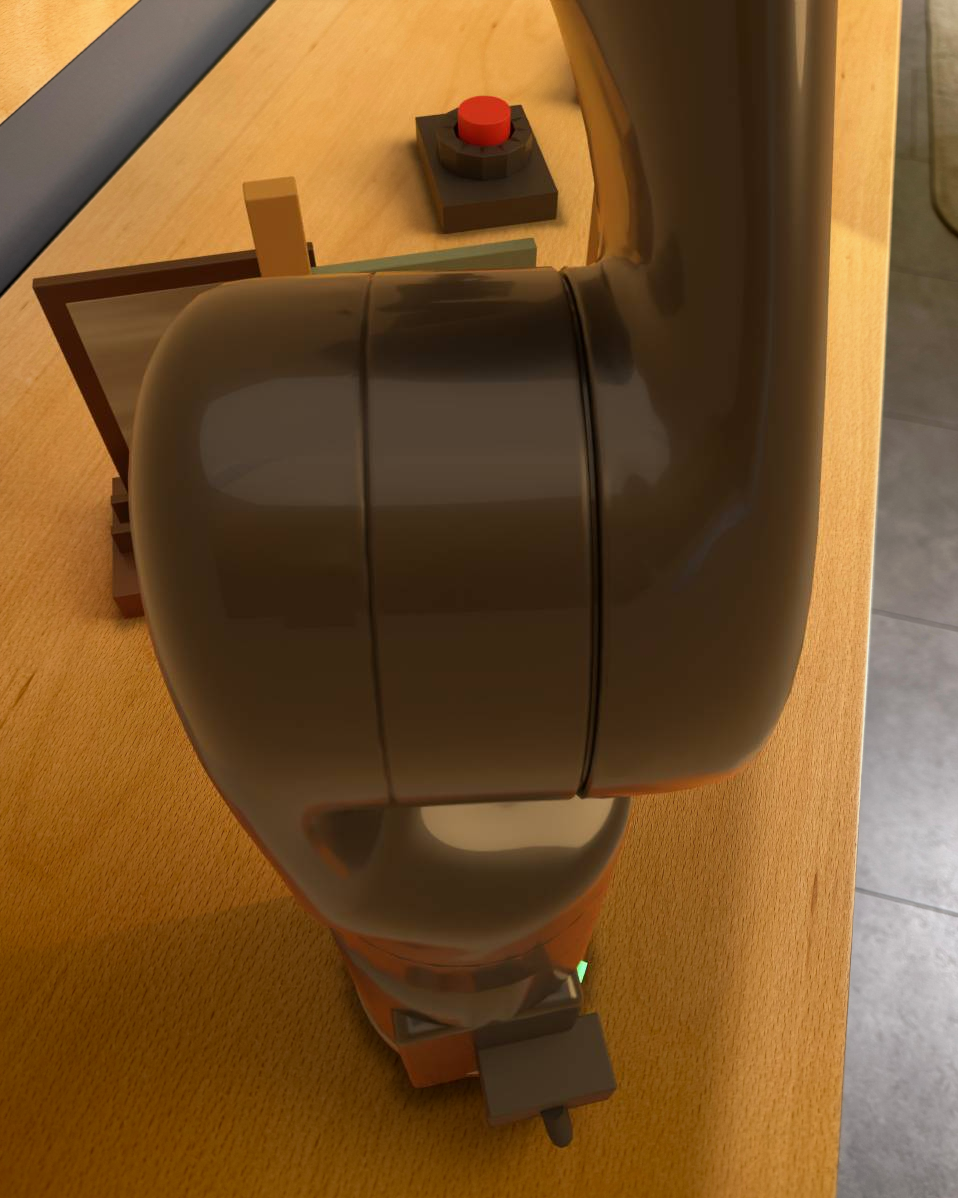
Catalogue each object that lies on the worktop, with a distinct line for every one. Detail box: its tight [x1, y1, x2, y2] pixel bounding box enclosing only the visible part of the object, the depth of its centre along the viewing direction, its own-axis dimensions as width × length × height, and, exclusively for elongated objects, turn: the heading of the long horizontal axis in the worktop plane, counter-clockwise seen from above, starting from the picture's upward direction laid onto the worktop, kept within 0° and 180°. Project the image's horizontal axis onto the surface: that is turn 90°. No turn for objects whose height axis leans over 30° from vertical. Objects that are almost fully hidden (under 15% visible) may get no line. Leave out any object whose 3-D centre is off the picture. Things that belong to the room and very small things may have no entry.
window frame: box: [31, 187, 598, 619], centre depth 46 cm, size 8×26×20 cm, turn 102°
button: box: [457, 95, 511, 147], centre depth 68 cm, size 4×4×2 cm
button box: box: [414, 104, 559, 235], centre depth 70 cm, size 11×8×4 cm
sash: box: [241, 175, 538, 277], centre depth 45 cm, size 1×12×18 cm, turn 102°
